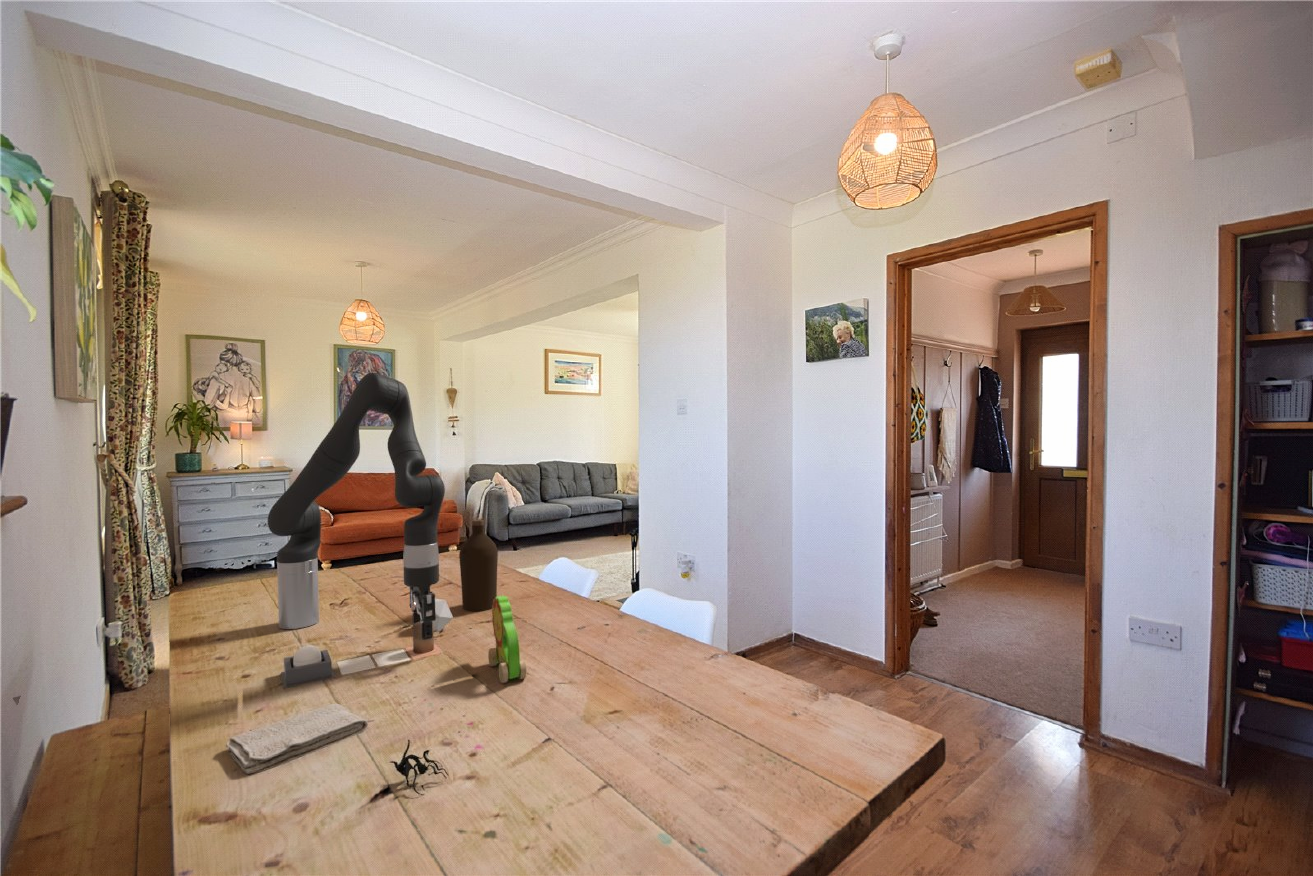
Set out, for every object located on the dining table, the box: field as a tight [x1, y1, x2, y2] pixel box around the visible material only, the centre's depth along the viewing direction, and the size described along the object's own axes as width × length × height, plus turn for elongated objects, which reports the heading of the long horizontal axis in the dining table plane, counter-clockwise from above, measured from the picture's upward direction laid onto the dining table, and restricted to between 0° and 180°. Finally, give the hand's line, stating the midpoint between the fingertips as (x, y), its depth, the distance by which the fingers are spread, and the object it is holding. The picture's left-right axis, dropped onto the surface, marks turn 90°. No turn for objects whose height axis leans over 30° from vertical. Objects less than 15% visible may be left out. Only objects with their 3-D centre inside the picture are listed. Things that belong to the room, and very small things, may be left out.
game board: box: [336, 642, 444, 676], centre depth 132 cm, size 10×22×1 cm, turn 124°
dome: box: [293, 644, 321, 668], centre depth 123 cm, size 5×5×6 cm
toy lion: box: [487, 595, 527, 684], centre depth 127 cm, size 16×5×15 cm, turn 27°
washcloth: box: [225, 702, 369, 775], centre depth 99 cm, size 12×18×3 cm, turn 141°
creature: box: [389, 739, 449, 796], centre depth 87 cm, size 8×5×8 cm
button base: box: [280, 649, 336, 689], centre depth 123 cm, size 9×9×4 cm
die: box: [426, 598, 454, 633], centre depth 152 cm, size 8×9×10 cm
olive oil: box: [458, 518, 499, 612], centre depth 172 cm, size 11×11×25 cm
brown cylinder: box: [412, 622, 435, 654], centre depth 136 cm, size 4×4×6 cm
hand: (422, 633), depth 136 cm, fingers open, 8 cm apart
